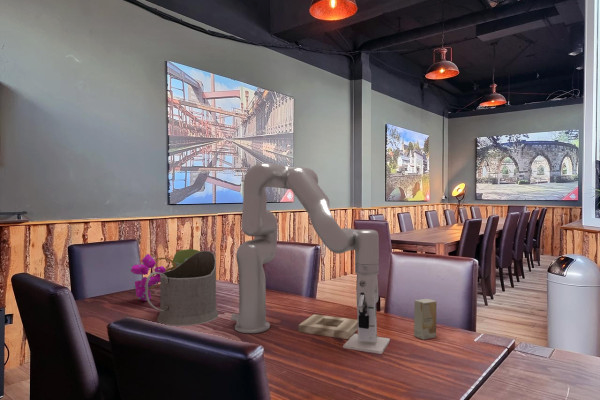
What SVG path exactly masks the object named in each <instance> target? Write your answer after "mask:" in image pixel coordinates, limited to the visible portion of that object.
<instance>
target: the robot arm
mask: <svg viewBox="0 0 600 400" xmlns="http://www.w3.org/2000/svg"><path fill="white" fill-rule="evenodd" d="M243 177H244V178H243V184H242V186H243V187H242V190H243V191H242V193H243V195H242V196H243V197H242V199H243V200H242V212H241V230H242V231H243V233H244V234H245V235H246V236H248V237H254V239H250V240H246V241H244V242H243V243H241V244H240V245H239V246H238V248H237V250H236V253H235V254H236V256H235V257H236V262H237V263H236V264H237V269H238V270H237V271H238V308H239V309H238V313H232V314H231V316H230V321H235V322H236V323H235V324H234V329H235V331H237V332H239V333H243V334H259V333H263V332H267V331H268V330H269V329H270V328H271V323H270V322H269V321H267V319H266V317H267V315H266V311H267V309H266V306H267V305H266V301H267V300H266V299H267V298H266V297H267V296H266V291H267V290H266V287H267V286H266V285H267V284H266V273H265V269H264V266H263V265H264V264H268V263H270V262H272V260H273V259H274V258H275V256H276V253H277V244H278V243H277V242H278V220H277V217H276V215H275V214H274V213H273V212H272V211H270V210H268V209H267V201H268V198H267V194H266V193H267V192H266V188H277V189H278V188H279V189H285V190H291V192H292V193H293V195H294V196H295V198H296V199H297V200H298V201H299V202H300V204H301V205H302V207H303V208H304V210H305V212H307V214H308V216H309V220H310V222H311V225H312V228H313V229H314V231H315V233H316V235H317V236H318V238H319V239H320V240H321V242H322V243H323V244H324V246H325V247H326V248H327V249H328V250H329V251H330V252H332V253H333V254H338V255H340V254H343V253H347V252H350V251H353V250H354V273H355V275H357V276H356V306H357V305H358V308H359V309H358V310H359V313H358V315H359V328H365V329H368V328H369V316H368V310H369V306H370V307H372V306H374V296H375V302H376V304H377V303H378V302H379V281H378V280H379V279H378V275H379V274H380V272H379V271H380V265H379V263H380V260H379V259H380V255H379V254H380V253H379V251H380V250H379V249H380V248H379V245H380V243H379V241H380V239H379V232H378V231H377V230H375V229H355V228H348V227H347V228H346V227H344V228H341V226H340V225H339V223H337V221H336V220H335V218H334V216H333V215H332V212H331V210H330V199H329V197H328V195H327V194H326V193H325V192H324V190H323V189H322V188H321V186H320V185H319V178H318V175H317V173H316V172H315V170H313V169H311V168H308V167H303V166H296V167H294V166H288V165H281V164H277V163H272V162H260V163H257V164H254V165H253V166H251V167H250V168H249V169H248V170H247V171H246V173H245V175H244V176H243ZM358 302H359V303H358ZM364 304H367V305H364ZM364 308H366V311H365V309H364Z"/></svg>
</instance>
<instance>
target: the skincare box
mask: <svg viewBox="0 0 600 400" xmlns="http://www.w3.org/2000/svg"><path fill="white" fill-rule="evenodd" d="M413 311H414V312H413V313H414V314H413V315H414V317H413V318H414V319H413V321H414V323H413V324H414V325H413V328H414V329H413V330H414V332H413V336H414V337H416V338H419V339H421V340H427V339H433V338H437V301H436V300H434V299H430V298H423V299H415V300H414V310H413Z"/></svg>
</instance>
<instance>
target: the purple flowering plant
mask: <svg viewBox="0 0 600 400" xmlns="http://www.w3.org/2000/svg"><path fill="white" fill-rule="evenodd" d="M197 252H201V251H200V250H198V249H194V248H188V249H180V250H178V251H176V252H175V254H174V256H173V258H172V259H171V258H168V257H158V258H155V259H154V256H151V255H150V254H149V253H146V254H145V255H144V257H143V258H142V260H141V262H142V263H140V264H134V265H132V266H131V267H130V272H131V273H133V274H135V275H144V277H141V279H140V280H135V281H134V287H133V288H135V295H136V297H138V300H140V301H141V300H142V301H143V302H148V301H147V299H146V294H145V284H146V280H147V278H148V276H145V275H148V274H149V271H150V269H153V268H154V267H155V266H156V263H157V262H159V261H161V260H165V261H166V260H167V261H169V262H171V264H170V265H168V266H167V267H166V268H165V267H164V266H163V265H160V266H157V267H155V269H154V272H158V273H164V272H167V271H170V270H173V269H175V268H176V267H178V266H179V265H181V264H182V263H183V262H185V261H186V260H187V259H188V258H190V257H191V256H193V255H194V254H196V253H197ZM160 275H161V274H154V276H151V277H150V279H149V281H148V297H149V300H150V301H151V300H152V295H151V291H150V290H151V289H157V288H160V285H159V283H160Z"/></svg>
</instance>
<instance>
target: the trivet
mask: <svg viewBox="0 0 600 400" xmlns="http://www.w3.org/2000/svg"><path fill="white" fill-rule="evenodd" d="M390 342H391V338H389V337H382V336H381V337H380V336H377V340H376V342H363V341H358V333H354V334H353V335H352V336H351V337H350V338H349V339H347V341H346V342H345V343H344V344H343V345H342V347H343V349H348V350H354V351H360V352H365V353H373V354H379V355H382V354H383V352H385V350H386V348H387V346H389V343H390Z"/></svg>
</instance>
